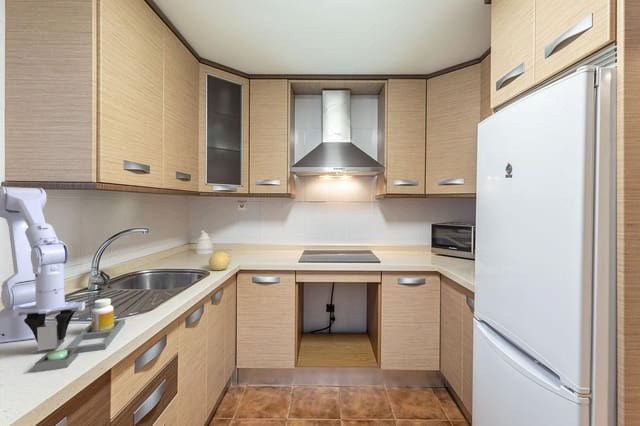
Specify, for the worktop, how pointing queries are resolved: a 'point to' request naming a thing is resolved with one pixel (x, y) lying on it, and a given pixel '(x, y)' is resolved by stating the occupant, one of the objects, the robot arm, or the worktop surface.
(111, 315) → the supplement bottle
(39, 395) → the worktop surface
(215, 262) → the yellow round fruit
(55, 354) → the button
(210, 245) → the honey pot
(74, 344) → the pallet frame
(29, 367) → the worktop surface
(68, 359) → the grey square tray
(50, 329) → the block
